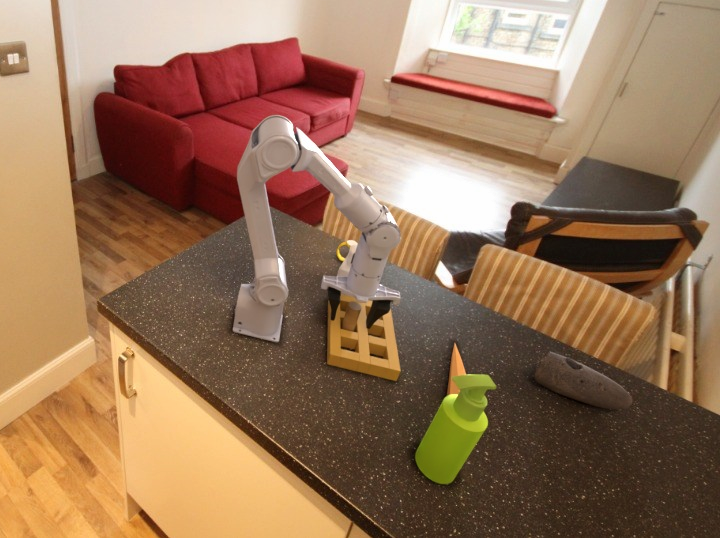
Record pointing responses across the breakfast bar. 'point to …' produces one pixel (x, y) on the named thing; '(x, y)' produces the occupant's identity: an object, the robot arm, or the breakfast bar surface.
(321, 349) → the breakfast bar surface
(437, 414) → the soap dispenser
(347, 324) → the peg
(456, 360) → the carrot
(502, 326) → the breakfast bar surface
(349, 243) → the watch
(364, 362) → the peg block
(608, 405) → the perforated stone tool
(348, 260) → the medicine bottle
